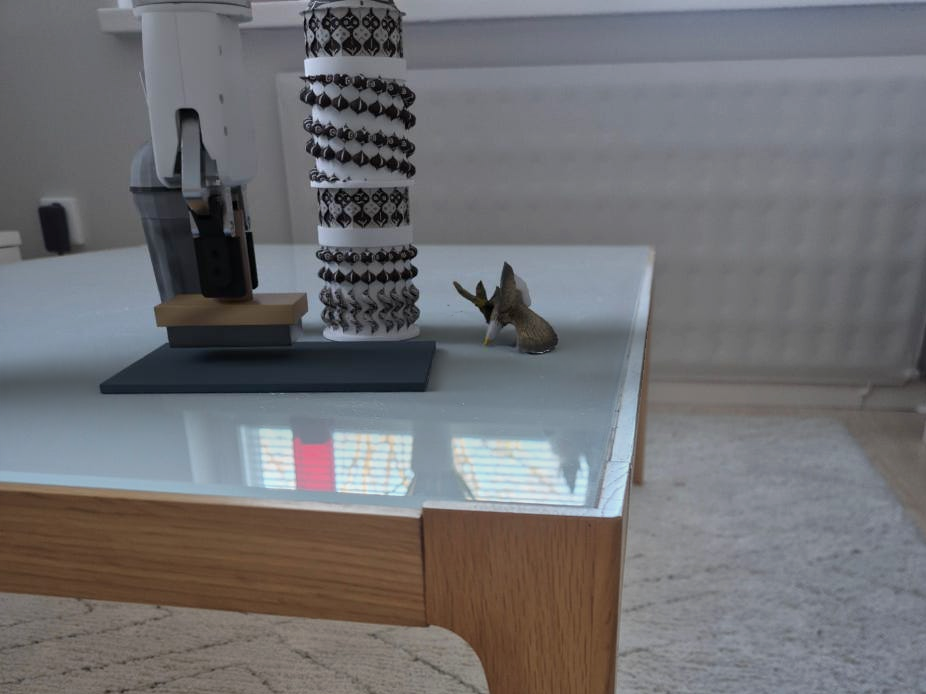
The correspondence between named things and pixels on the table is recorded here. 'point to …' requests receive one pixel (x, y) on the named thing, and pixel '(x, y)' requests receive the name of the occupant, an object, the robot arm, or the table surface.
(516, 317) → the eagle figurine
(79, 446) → the table surface
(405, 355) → the mat
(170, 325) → the brush
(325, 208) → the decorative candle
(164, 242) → the beverage cup
